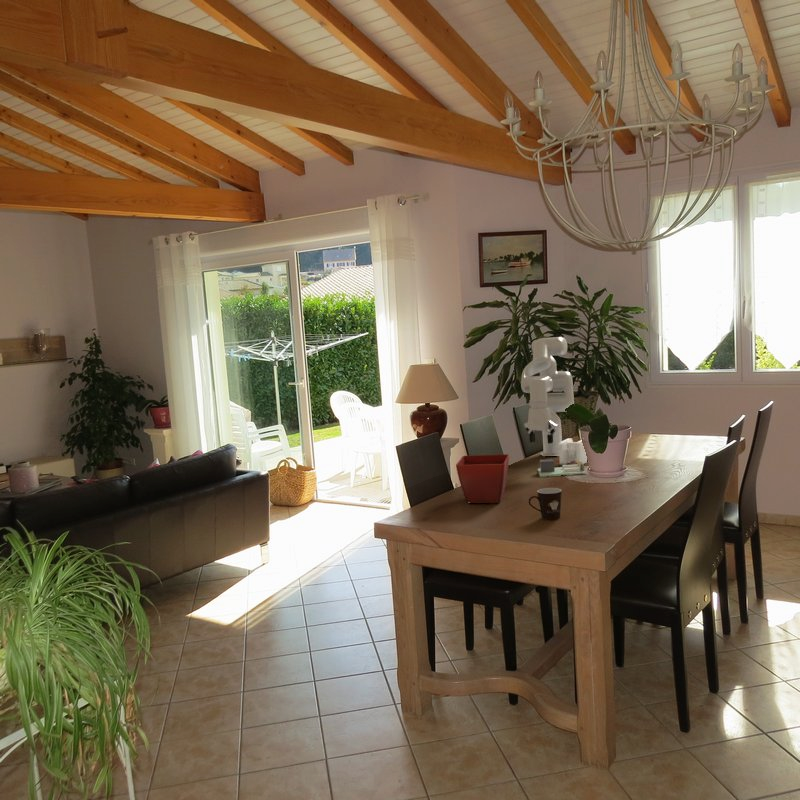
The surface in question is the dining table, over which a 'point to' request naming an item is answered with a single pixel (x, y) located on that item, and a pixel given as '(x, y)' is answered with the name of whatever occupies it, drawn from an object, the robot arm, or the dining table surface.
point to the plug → (547, 465)
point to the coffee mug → (549, 503)
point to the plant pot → (483, 477)
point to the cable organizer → (571, 452)
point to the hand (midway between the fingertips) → (541, 442)
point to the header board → (564, 470)
